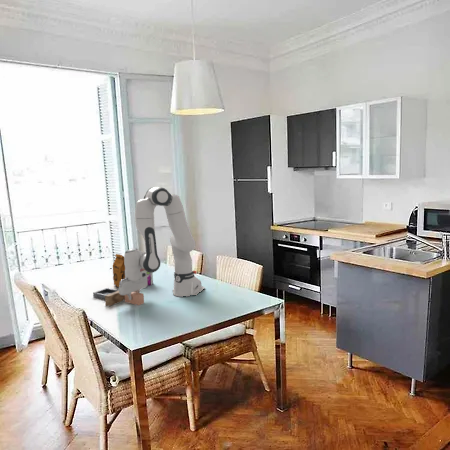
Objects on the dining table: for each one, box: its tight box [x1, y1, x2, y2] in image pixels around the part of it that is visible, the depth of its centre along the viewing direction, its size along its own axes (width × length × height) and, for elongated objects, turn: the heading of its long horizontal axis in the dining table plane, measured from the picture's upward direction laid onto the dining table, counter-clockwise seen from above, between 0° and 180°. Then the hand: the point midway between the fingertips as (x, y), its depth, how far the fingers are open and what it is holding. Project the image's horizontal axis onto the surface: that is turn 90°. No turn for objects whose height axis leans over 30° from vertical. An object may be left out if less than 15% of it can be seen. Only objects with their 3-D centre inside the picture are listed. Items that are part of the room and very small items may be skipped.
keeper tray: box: [92, 287, 119, 301], centre depth 245 cm, size 11×17×3 cm, turn 57°
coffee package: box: [112, 253, 125, 288], centre depth 265 cm, size 10×12×22 cm
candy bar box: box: [140, 268, 154, 286], centre depth 268 cm, size 11×5×16 cm, turn 84°
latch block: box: [124, 292, 145, 306], centre depth 232 cm, size 4×12×6 cm, turn 57°
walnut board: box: [104, 291, 137, 307], centre depth 238 cm, size 24×3×6 cm, turn 147°
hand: (134, 298), depth 233 cm, fingers closed on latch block, 4 cm apart
